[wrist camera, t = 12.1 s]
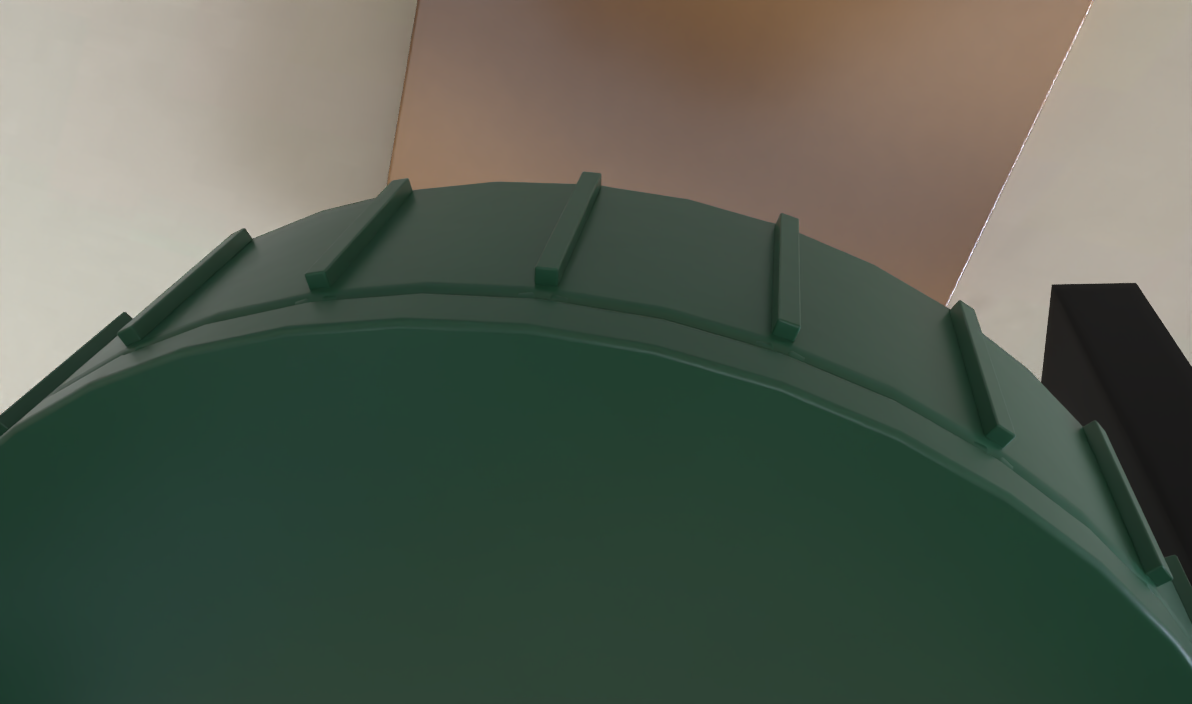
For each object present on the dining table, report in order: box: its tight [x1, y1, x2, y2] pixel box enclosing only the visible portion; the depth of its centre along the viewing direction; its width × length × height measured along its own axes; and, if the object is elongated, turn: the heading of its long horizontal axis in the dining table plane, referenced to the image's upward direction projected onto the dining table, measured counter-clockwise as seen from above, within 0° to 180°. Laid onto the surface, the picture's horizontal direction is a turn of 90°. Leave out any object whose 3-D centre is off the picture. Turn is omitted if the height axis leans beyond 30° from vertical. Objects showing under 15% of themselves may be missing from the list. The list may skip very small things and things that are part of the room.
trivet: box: [386, 0, 1094, 307], centre depth 22 cm, size 12×12×1 cm
